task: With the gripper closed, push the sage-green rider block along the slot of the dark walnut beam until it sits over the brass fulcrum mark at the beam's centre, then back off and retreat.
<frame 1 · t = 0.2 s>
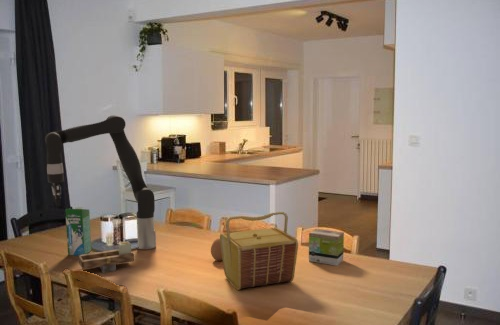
hand: (57, 204, 243), 29 cm above the table, fingers open, 8 cm apart
milk carton: (79, 253, 259), on the table
rider: (124, 249, 237), point 8 cm above the table, slide at 0.0 cm
picnic basket: (258, 280, 214), on the table
tea box: (326, 261, 239), on the table
beam: (106, 267, 234), on the table
egg: (219, 260, 243), on the table
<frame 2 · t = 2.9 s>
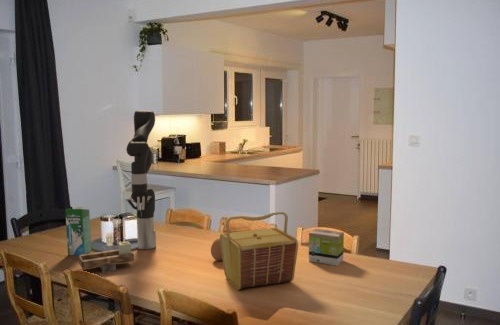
hand: (140, 216, 239), 23 cm above the table, fingers closed
nothing on the table moved.
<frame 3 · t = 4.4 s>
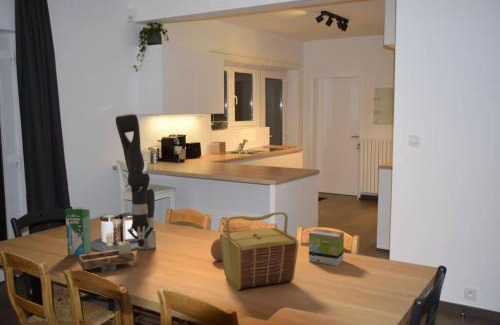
hand: (140, 246, 241), 8 cm above the table, fingers closed
nothing on the table moved.
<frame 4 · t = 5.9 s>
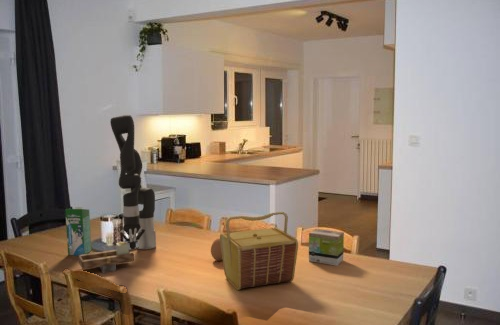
hand: (132, 248, 239), 8 cm above the table, fingers closed
rider: (122, 249, 237), point 8 cm above the table, slide at 1.1 cm, touching gripper
everything else where it was.
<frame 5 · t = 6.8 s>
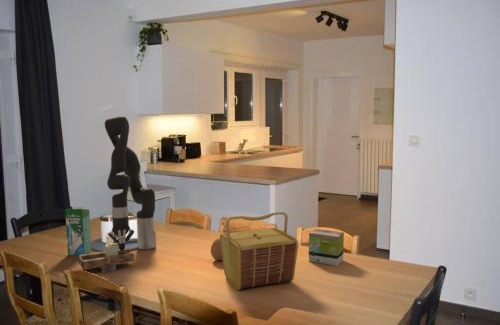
hand: (121, 250, 236), 8 cm above the table, fingers closed
rider: (111, 251, 234), point 8 cm above the table, slide at 6.4 cm, touching gripper
everything else where it was.
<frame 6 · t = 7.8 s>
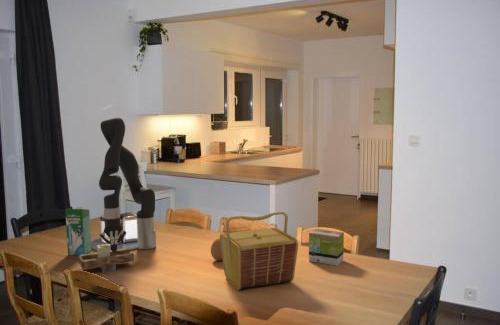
hand: (113, 251, 235), 8 cm above the table, fingers closed
rider: (103, 252, 233), point 8 cm above the table, slide at 10.2 cm, touching gripper
everything else where it was.
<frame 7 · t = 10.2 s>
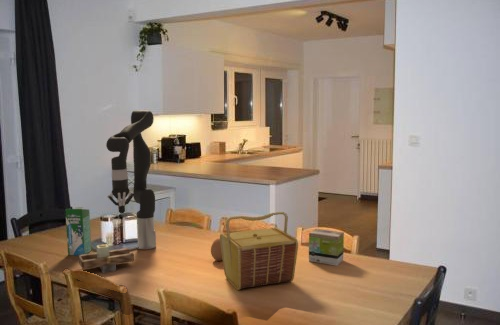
hand: (121, 213, 237), 26 cm above the table, fingers closed
rider: (103, 252, 232), point 8 cm above the table, slide at 10.4 cm
everything else where it was.
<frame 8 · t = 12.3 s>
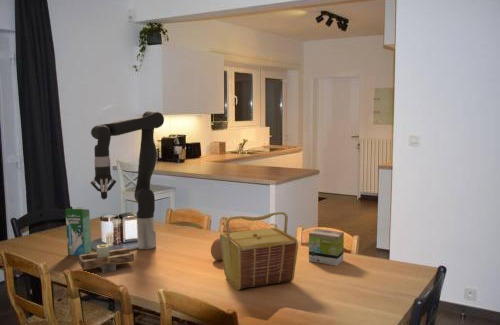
hand: (104, 199, 245), 31 cm above the table, fingers closed
nothing on the table moved.
at the end: rider slide at 10.4 cm; rider 1.4 cm from the beam (horizontally) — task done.
